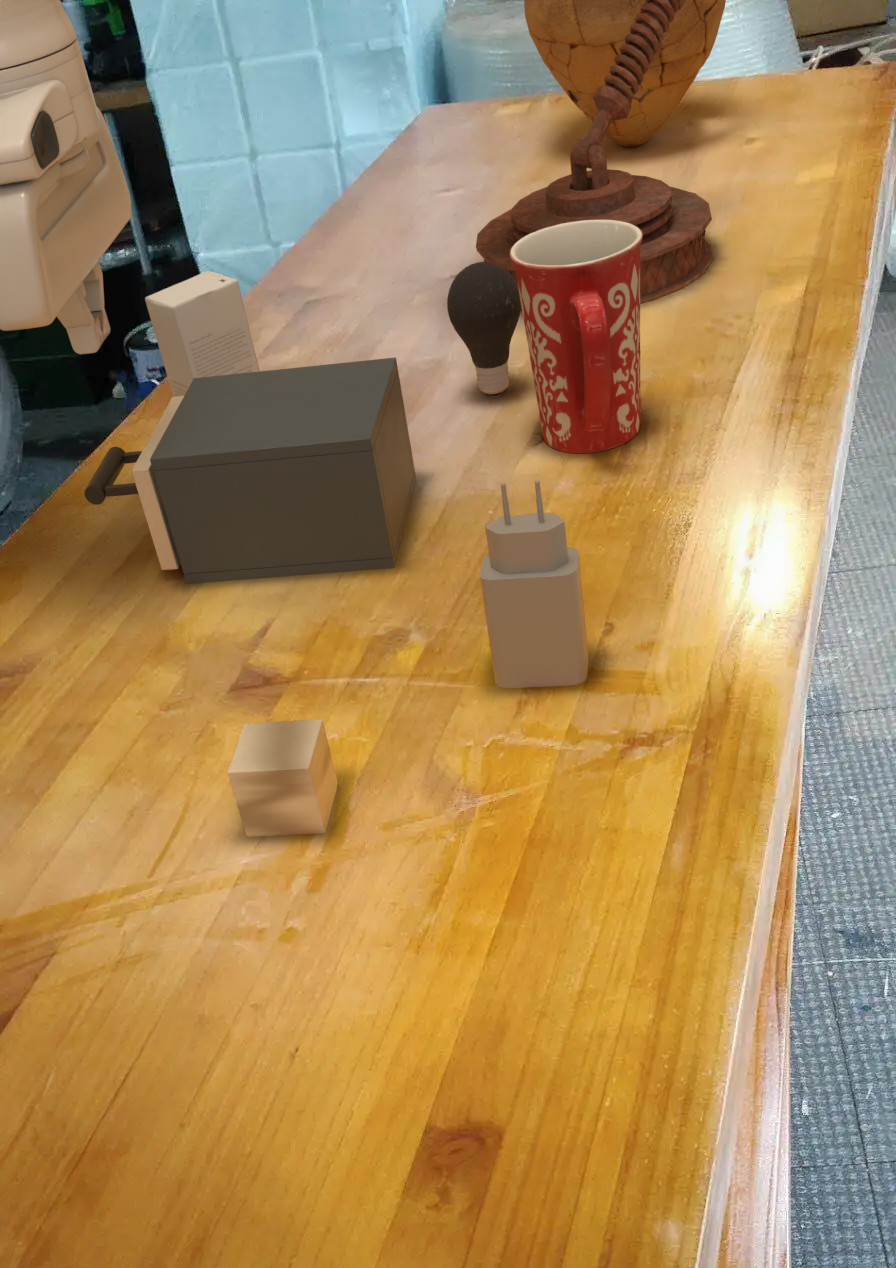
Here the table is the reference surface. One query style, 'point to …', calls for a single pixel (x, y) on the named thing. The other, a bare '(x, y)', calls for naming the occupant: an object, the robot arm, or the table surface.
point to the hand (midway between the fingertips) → (93, 344)
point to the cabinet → (288, 472)
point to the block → (283, 778)
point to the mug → (583, 330)
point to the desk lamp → (617, 183)
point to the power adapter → (533, 600)
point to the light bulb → (486, 320)
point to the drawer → (140, 487)
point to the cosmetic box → (202, 330)
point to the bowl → (590, 39)
